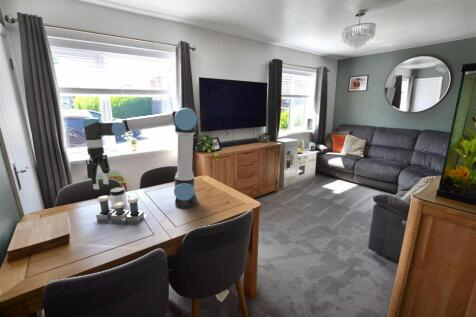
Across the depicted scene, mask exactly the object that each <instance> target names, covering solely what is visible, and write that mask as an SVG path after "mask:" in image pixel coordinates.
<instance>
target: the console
mask: <svg viewBox="0 0 476 317" xmlns="http://www.w3.org/2000/svg"><path fill="white" fill-rule="evenodd" d="M124 213H127V216H126V219H127V223H125V224H122V219H121V216H120V215H116V209H114V208H113V209H112V208H111V209H110V208H109V212H108V213H105V214H102V212H101V210H100V211H99V212H98V213H95V215H96V216H95V217H96V220H95V221H94V222H93V224H97V225H98V224H99V225H101V224H103V225H118V226H132V227H133V226H136V227H137V226H138V225H139V224H140V223H141V222H142V221H143V220H144V219H145V218H146V217H147V216H148V215H147V214H145V213H144V210H138V214H137V215H131V211H130V209H129V210H127V209H124Z"/></svg>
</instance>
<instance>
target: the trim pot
mask: <svg viewBox="0 0 476 317" xmlns="http://www.w3.org/2000/svg"><path fill="white" fill-rule="evenodd" d="M120 216H121V219H122V224H125V223H127V219H126V216H127V213H122V214H121V215H120Z"/></svg>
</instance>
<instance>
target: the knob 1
mask: <svg viewBox="0 0 476 317" xmlns="http://www.w3.org/2000/svg"><path fill="white" fill-rule="evenodd" d="M109 199H110V195H101V196H98V197H97V202H99V205H100V211H101V212H102V214H105V213H108V212H109V209H110V207H109Z"/></svg>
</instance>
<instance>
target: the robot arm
mask: <svg viewBox="0 0 476 317" xmlns="http://www.w3.org/2000/svg"><path fill="white" fill-rule="evenodd" d="M197 121H198V117H197V114H196V112H195V111H194V109H192V108H190V107H182V108H179V109H176V110H175V109H174V110H171V111H170V112H167V113H158V114H153V115H152V114H151V115H145V116H137V117H129V118H123V119H122V118H120V119H116V120H112V121H100V118H98V117H85V118H83V119H82V127H83V132H84V137H85V142H86V147H87V148H86V150H87V154H88V155H89V159H85V163H86V170H87V171H86V173H87V179H90V180H91V184H92V187H93V190H100V185H99V178H98V177H97V174H98V166H99V168H100V170H101V171H102V173H101V176H102V177H101V178H102V183H103V185H109V183H110V182H109V173H110V170H111V168H110V164H109V161H108V154H104V153H105V149H104V143H103V137H104V136H105V137H111V136H113V137H115V136H116V137H119V136H124V135H126V133H127V132H132V131H133V132H134V131H140V130H148V129H154V128H155V129H156V128H161V127H163V128H164V127H169V126H174V127H175V128H174V131H175V133H176V134H177V171H176V172H175V175H174V189H173V193H174V197H175V199H174V200H175V201H174V205H175V207H177V208H178V209H190V208H192V207H195V206H197V204H198V202H199V201H198V198H197V195H196V191H195V190H196V189H195V174H194V171H193V154H194V153H193V152H194V149H193V148H194V135H195V134H196V133H197Z"/></svg>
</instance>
